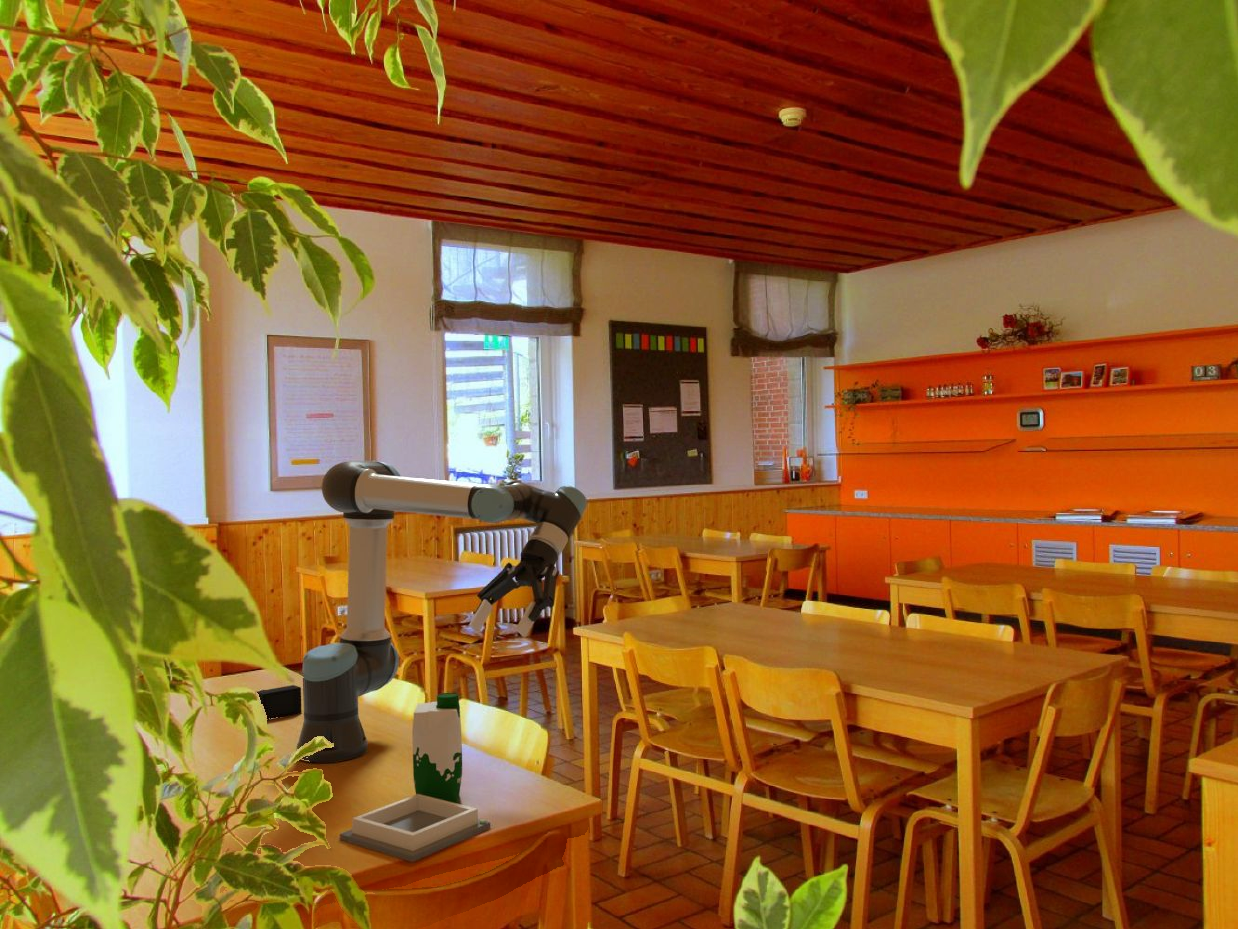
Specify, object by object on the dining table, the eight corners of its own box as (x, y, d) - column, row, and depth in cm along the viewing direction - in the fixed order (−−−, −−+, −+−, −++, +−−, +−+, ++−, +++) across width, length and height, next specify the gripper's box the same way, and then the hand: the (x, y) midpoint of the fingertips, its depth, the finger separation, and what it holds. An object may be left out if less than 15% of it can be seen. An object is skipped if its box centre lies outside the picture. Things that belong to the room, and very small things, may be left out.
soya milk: (461, 808, 189) (458, 699, 189) (411, 810, 188) (408, 702, 188) (464, 792, 197) (461, 689, 197) (417, 795, 197) (414, 691, 197)
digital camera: (292, 710, 269) (291, 683, 268) (301, 713, 265) (301, 686, 265) (254, 718, 261) (253, 690, 261) (263, 721, 257) (262, 693, 257)
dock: (339, 839, 174) (339, 819, 174) (419, 809, 189) (418, 790, 189) (412, 862, 163) (412, 840, 163) (490, 827, 178) (489, 807, 178)
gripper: (596, 560, 212) (551, 646, 200) (511, 558, 228) (465, 637, 216) (578, 537, 208) (531, 623, 196) (493, 537, 224) (444, 616, 212)
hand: (496, 631), depth 206 cm, fingers open, 13 cm apart
